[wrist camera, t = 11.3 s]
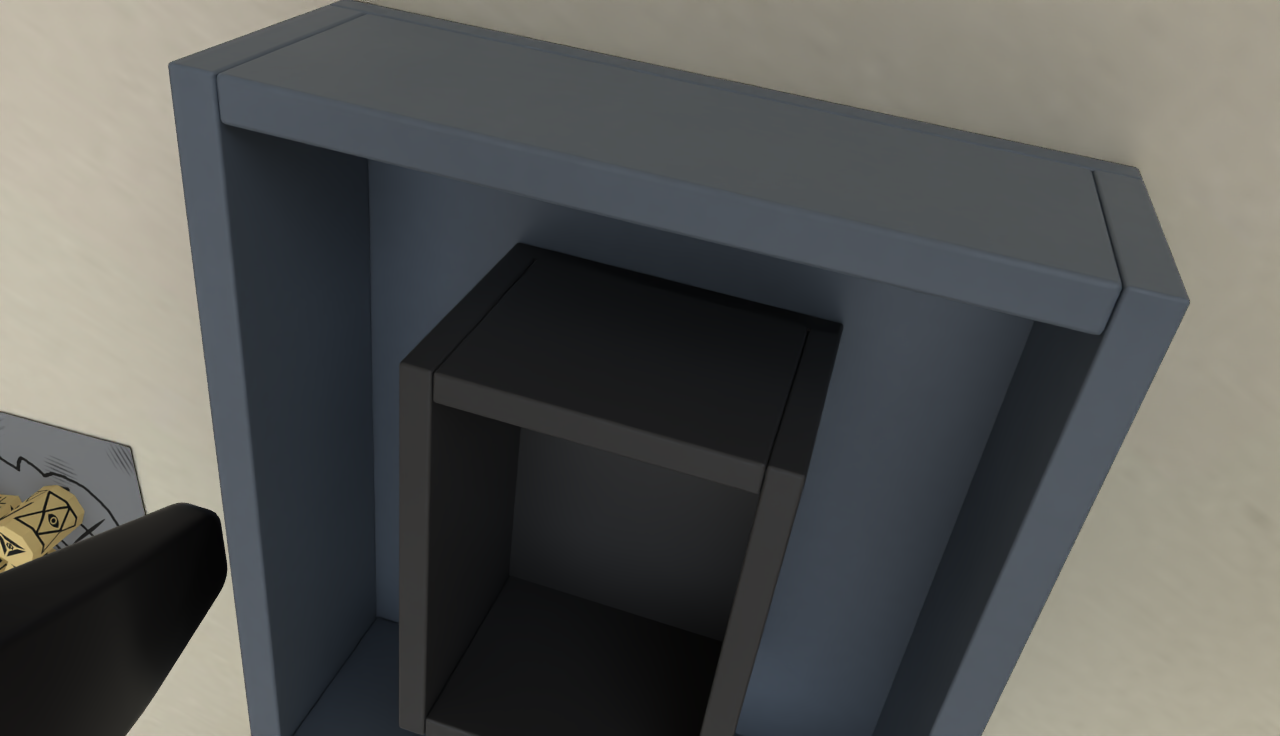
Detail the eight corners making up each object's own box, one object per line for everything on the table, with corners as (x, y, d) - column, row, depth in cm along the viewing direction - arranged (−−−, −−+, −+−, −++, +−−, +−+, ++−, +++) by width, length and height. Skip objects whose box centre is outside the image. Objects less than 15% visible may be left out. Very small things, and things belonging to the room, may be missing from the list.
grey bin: (1139, 167, 17) (1193, 300, 13) (883, 782, 26) (863, 982, 21) (344, -3, 19) (165, 61, 15) (362, 612, 28) (252, 760, 24)
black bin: (845, 322, 19) (806, 476, 15) (753, 650, 24) (706, 835, 20) (517, 240, 20) (397, 362, 16) (494, 569, 25) (397, 728, 21)
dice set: (-61, 433, 30) (-121, 471, 28) (88, 475, 29) (35, 517, 27) (-17, 562, 32) (-69, 603, 31) (121, 604, 31) (75, 649, 30)
